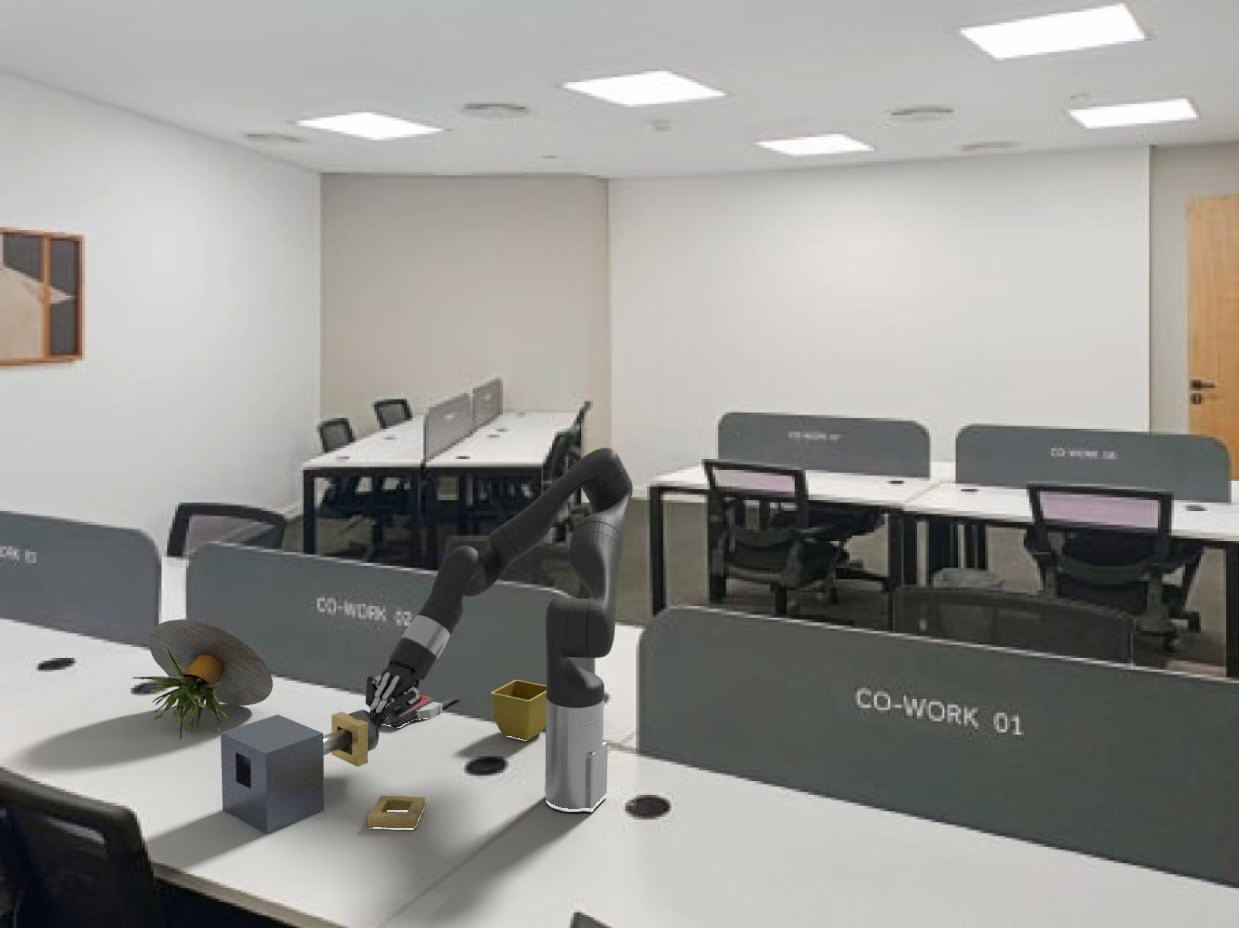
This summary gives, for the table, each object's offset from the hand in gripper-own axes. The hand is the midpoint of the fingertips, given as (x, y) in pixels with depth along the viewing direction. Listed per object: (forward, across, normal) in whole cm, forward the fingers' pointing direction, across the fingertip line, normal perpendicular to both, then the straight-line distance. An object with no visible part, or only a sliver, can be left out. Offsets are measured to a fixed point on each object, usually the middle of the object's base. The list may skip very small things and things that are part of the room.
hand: (365, 734), depth 167 cm
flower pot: (-15, -10, -25) cm, 31 cm away
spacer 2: (+10, -18, +1) cm, 20 cm away
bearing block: (+17, -1, +9) cm, 19 cm away
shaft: (+9, -1, +6) cm, 11 cm away
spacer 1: (+2, -1, +3) cm, 4 cm away
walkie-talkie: (-11, +14, -22) cm, 28 cm away
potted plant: (+10, +41, 0) cm, 42 cm away
